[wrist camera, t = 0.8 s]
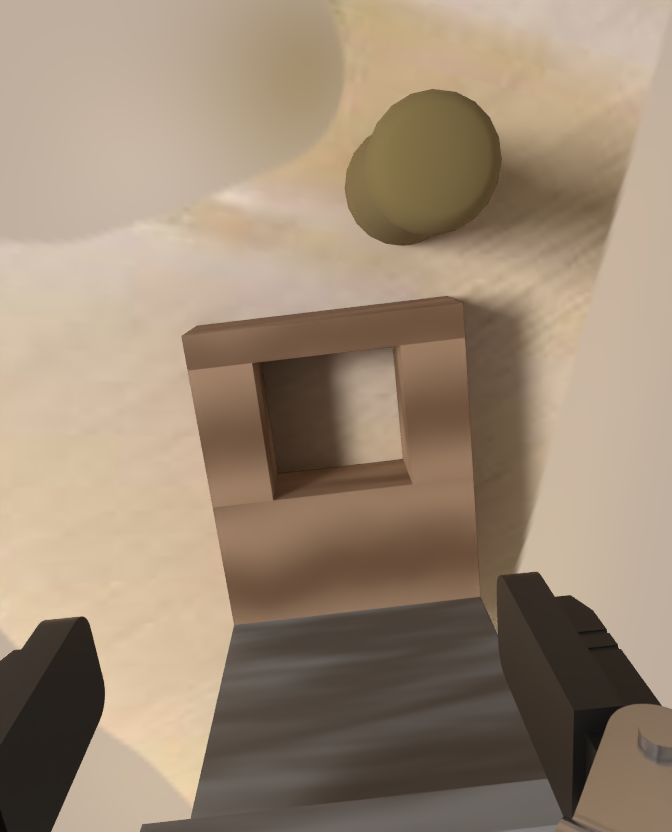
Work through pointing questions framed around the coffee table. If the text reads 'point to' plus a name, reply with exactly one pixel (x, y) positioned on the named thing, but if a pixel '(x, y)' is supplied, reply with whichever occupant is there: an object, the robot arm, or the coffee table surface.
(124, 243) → the coffee table surface
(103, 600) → the coffee table surface
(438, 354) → the socket stand
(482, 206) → the cork
